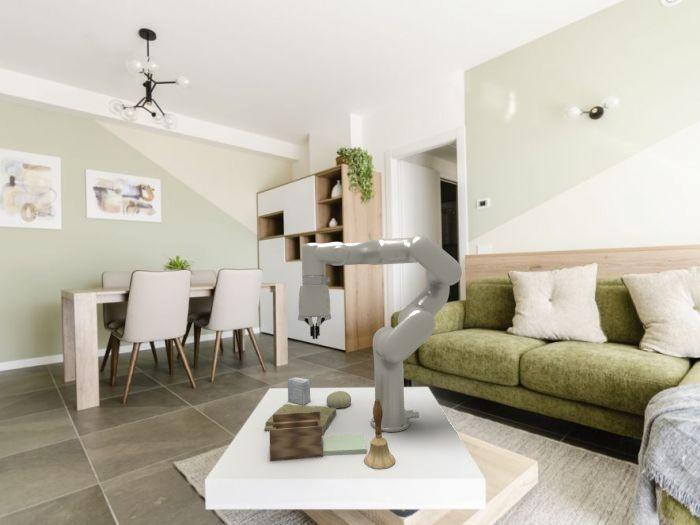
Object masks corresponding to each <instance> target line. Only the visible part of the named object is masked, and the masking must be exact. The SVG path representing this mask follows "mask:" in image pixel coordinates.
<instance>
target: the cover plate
mask: <svg viewBox="0 0 700 525" xmlns="http://www.w3.org/2000/svg"><path fill="white" fill-rule="evenodd" d="M365 439H366V438H365V435H364V433H356V434H355V433H353V434H332V435H329V434H328V435H323V438H322V457H323V456H324V457H327V456H346V455H347V456H348V455H351V456H352V455H365V454H366V455H367V454H368V452H367V445H366V440H365Z"/></svg>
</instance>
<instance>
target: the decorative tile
mask: <svg viewBox="0 0 700 525" xmlns="http://www.w3.org/2000/svg"><path fill="white" fill-rule="evenodd" d="M316 411H320V421H321V426H322V437H324V434H325V433H326V431H327V430H328V429H329V427H330V426H331V425H332V423H333V421H334V420H335V418H336V417H337V408H332V407H330V406H327V407H326V406H317V405H306V404H305V405H301V404H291V403H289V404H288V403H287V404H285V403H284V405H282V406H281V407H279V408H278V409H277V410H276V411H275V412H273V414H285V413H300V412H316ZM273 414H272V415H271V416H270V417H269V418H268V419H267V420H266V422H265V426H264V429H263V430H264V431H265V432H267V431H270V429H273Z"/></svg>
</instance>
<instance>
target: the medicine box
mask: <svg viewBox="0 0 700 525" xmlns="http://www.w3.org/2000/svg"><path fill="white" fill-rule="evenodd" d="M310 380H311V379H306V378H302V377H296V376H294V377H292V378H289V379H287V401H288V402H289V403H293V404H296V405H305V406H306V405H307V404H308V403H310V402H311V381H310Z"/></svg>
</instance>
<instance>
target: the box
mask: <svg viewBox="0 0 700 525" xmlns="http://www.w3.org/2000/svg"><path fill="white" fill-rule="evenodd" d="M272 415H273V429H270V432H269V462H273V461H276V462H277V461H287V460H299V459H310V458H312V459H313V458H322V457H323V436H322V426H321V421H320V411H316V412H300V413H285V414H274V413H273V414H272Z"/></svg>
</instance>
